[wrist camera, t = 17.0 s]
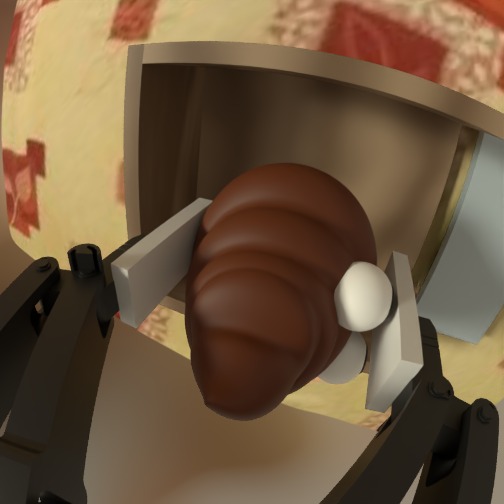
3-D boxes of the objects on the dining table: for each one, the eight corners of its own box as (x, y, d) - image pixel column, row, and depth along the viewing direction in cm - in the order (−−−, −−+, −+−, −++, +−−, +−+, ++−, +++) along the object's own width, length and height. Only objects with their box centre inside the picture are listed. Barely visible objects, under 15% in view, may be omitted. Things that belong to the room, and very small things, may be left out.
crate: (188, 242, 30) (134, 294, 23) (201, 53, 21) (128, 45, 13) (392, 303, 26) (393, 379, 19) (461, 108, 16) (514, 120, 9)
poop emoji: (213, 146, 14) (48, 234, 6) (403, 180, 12) (471, 339, 4) (212, 312, 19) (132, 437, 11) (349, 347, 17) (323, 499, 9)
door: (407, 322, 24) (476, 344, 22) (487, 118, 14) (564, 163, 12) (407, 314, 25) (474, 336, 23) (482, 117, 15) (558, 160, 13)
